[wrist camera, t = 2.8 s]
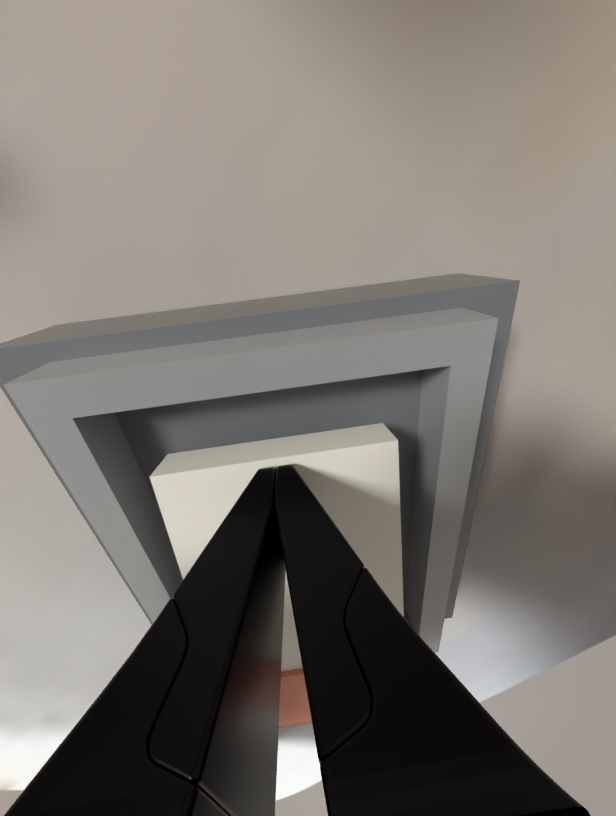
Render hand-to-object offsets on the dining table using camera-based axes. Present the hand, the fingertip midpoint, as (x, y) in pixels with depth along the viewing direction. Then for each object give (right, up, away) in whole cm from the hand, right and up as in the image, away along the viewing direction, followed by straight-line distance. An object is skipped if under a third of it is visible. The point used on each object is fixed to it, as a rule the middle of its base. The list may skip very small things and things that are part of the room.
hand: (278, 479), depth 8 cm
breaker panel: (0, -1, +7) cm, 7 cm away
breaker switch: (0, -4, +2) cm, 4 cm away
